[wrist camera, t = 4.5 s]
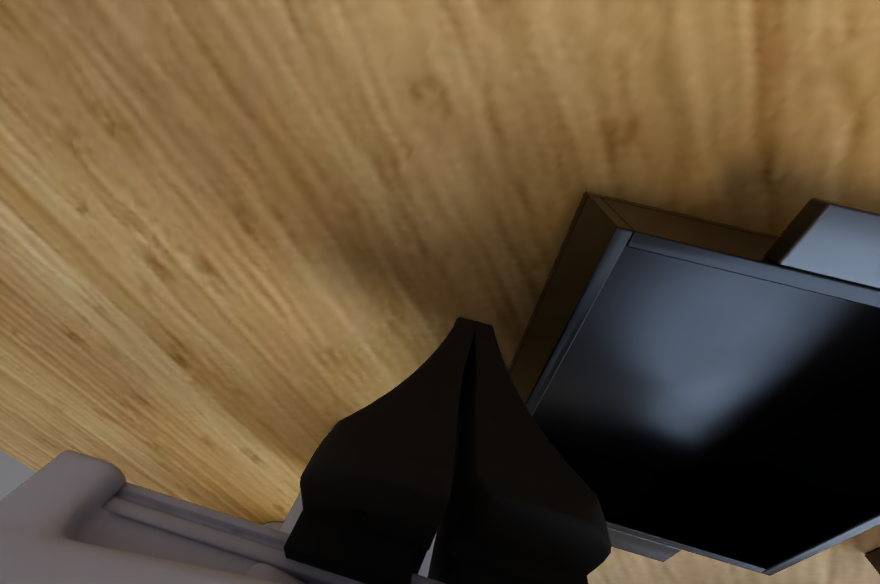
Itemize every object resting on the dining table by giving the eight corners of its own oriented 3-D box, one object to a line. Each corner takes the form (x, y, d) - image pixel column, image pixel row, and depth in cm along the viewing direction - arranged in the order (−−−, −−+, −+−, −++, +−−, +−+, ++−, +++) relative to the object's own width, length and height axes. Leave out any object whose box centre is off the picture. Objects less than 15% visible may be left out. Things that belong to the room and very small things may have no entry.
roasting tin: (479, 436, 17) (473, 505, 14) (605, 143, 9) (650, 161, 6) (703, 500, 16) (746, 588, 13) (1044, 242, 9) (1327, 315, 6)
